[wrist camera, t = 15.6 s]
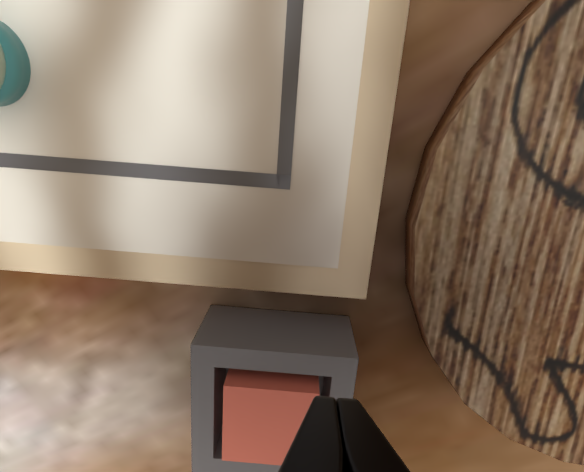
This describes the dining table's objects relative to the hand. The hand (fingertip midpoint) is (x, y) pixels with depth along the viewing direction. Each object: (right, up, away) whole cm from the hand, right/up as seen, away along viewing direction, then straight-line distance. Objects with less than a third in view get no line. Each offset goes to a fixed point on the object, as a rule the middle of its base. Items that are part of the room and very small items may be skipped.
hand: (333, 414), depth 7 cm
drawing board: (-9, +10, +8) cm, 16 cm away
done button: (-2, -4, +11) cm, 12 cm away
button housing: (-2, -4, +12) cm, 13 cm away
